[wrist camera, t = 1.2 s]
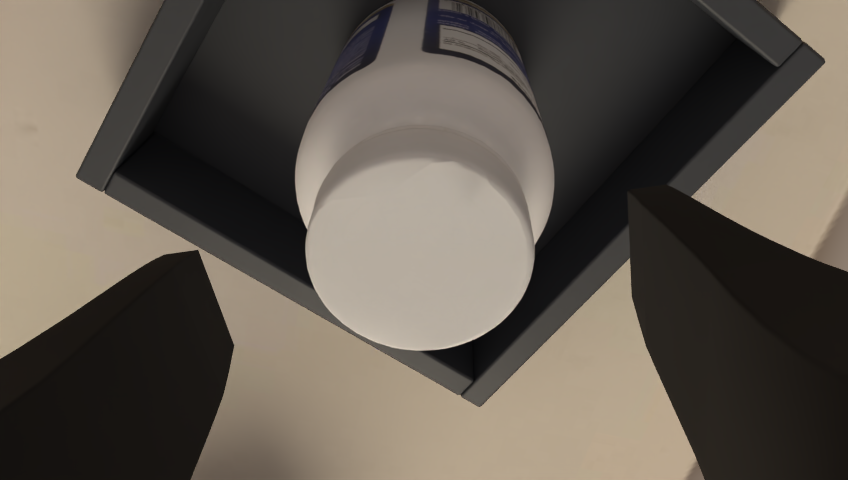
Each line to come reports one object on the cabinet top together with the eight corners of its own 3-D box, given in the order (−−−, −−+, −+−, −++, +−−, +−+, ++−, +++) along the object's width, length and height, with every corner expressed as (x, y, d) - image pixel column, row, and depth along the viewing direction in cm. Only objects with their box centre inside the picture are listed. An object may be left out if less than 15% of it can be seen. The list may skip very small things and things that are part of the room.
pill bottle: (366, 187, 23) (313, 402, 14) (314, 14, 20) (212, 150, 12) (539, 152, 22) (594, 358, 13) (508, -32, 19) (552, 78, 11)
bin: (774, 28, 20) (828, 61, 17) (476, 344, 26) (480, 408, 23) (361, -324, 17) (342, -356, 14) (122, 132, 22) (74, 177, 19)
